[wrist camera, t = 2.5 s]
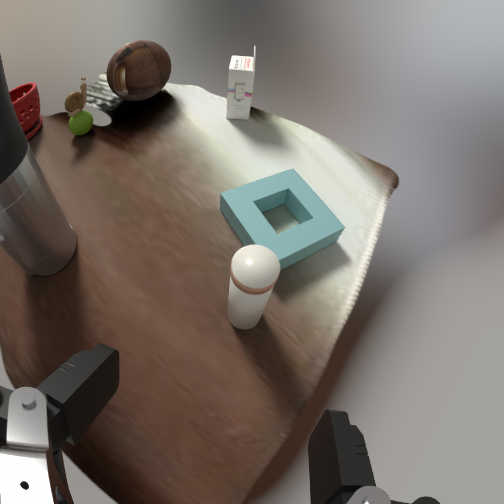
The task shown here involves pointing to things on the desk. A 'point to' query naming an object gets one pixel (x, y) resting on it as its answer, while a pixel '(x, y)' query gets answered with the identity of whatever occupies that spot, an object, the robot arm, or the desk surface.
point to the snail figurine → (78, 111)
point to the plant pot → (27, 108)
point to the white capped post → (251, 284)
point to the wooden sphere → (138, 70)
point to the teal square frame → (298, 203)
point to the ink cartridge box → (240, 86)
